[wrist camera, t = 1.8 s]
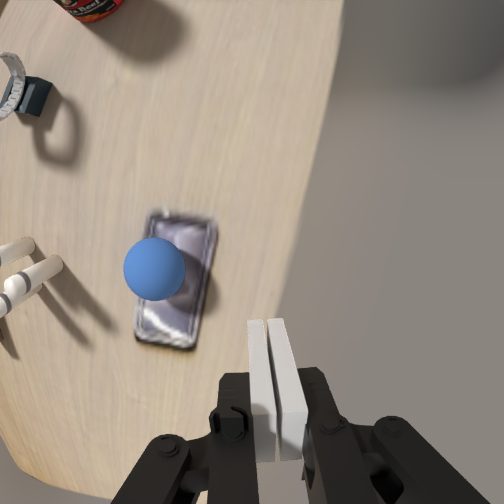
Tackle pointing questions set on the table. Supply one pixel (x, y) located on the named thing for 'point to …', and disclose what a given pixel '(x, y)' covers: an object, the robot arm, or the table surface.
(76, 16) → the canned food
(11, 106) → the watch
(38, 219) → the table surface
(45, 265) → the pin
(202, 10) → the table surface
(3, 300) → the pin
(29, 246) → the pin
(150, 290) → the ball
